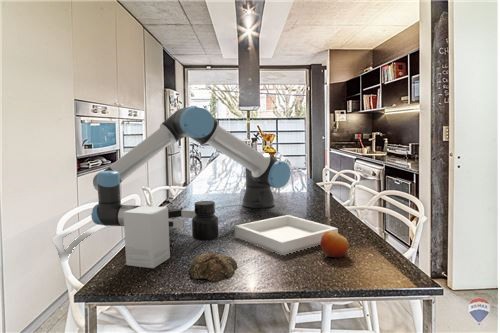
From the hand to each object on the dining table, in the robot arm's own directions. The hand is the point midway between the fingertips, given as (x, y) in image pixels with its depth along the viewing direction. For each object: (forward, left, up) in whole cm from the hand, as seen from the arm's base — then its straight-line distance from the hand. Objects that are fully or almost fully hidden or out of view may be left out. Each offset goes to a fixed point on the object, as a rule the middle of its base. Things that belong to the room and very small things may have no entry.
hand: (191, 219), depth 129 cm
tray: (-23, +21, -6) cm, 32 cm away
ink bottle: (-3, +3, -7) cm, 8 cm away
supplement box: (+21, +13, -7) cm, 25 cm away
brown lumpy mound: (+10, +31, -7) cm, 33 cm away
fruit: (-23, +42, -7) cm, 49 cm away
